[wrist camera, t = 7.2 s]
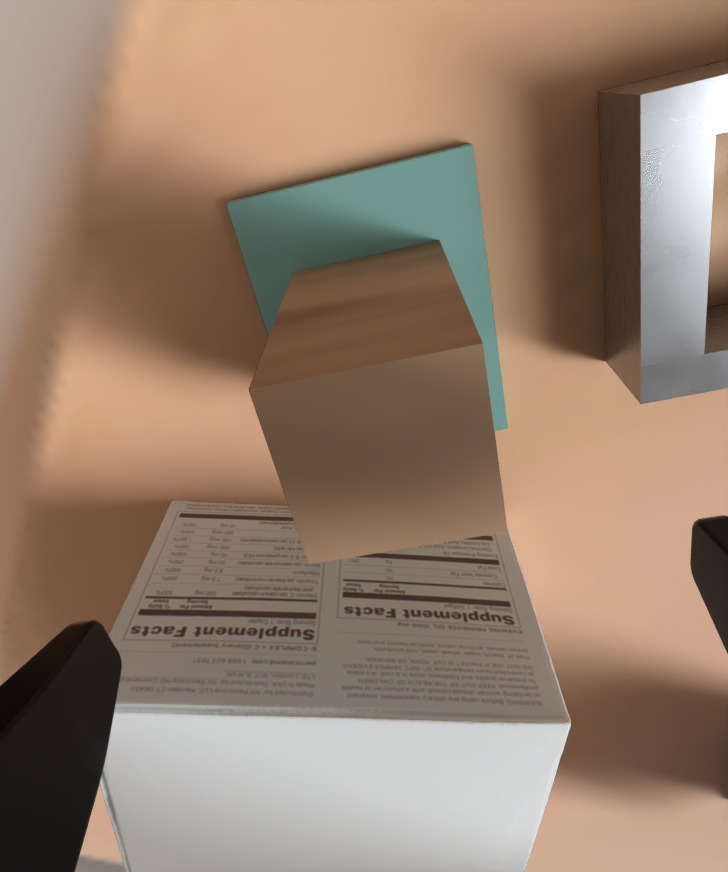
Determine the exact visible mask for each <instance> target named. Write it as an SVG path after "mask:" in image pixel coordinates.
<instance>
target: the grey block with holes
mask: <svg viewBox="0 0 728 872" xmlns="http://www.w3.org/2000/svg"><path fill="white" fill-rule="evenodd" d="M598 102H599V135H600V167H601V199H602V231H603V264H604V296H605V328H606V361H607V363H608V365H609V366H610V367H611V368H612V369H613V371H614V372H615V373H616V374H617V376H618V377H619V378H620V379H621V380H622V382H623V383H624V384H625V385H626V387H627V388H628V389H629V390H630V391H631V393H632V394H633V395H634V396H635V398H636V399H637V400H638V401H639V402H640V404H644V403H649V402H655V401H660V400H665V399H671V398H676V397H681V396H687V395H692V394H698V393H703V392H708V391H714V390H719V389H724V388H728V304H724V305H719V306H714V307H709V308H707V294H708V276H709V257H710V238H711V220H712V201H713V183H714V164H715V146H716V134H720V133H725V132H728V60H725V61H721V62H717V63H713V64H709V65H705V66H700V67H696V68H692V69H688V70H684V71H680V72H676V73H672V74H668V75H664V76H660V77H656V78H651V79H647V80H643V81H639V82H635V83H631V84H627V85H623V86H619V87H615V88H611V89H606V90H602V91H598Z"/></svg>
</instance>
